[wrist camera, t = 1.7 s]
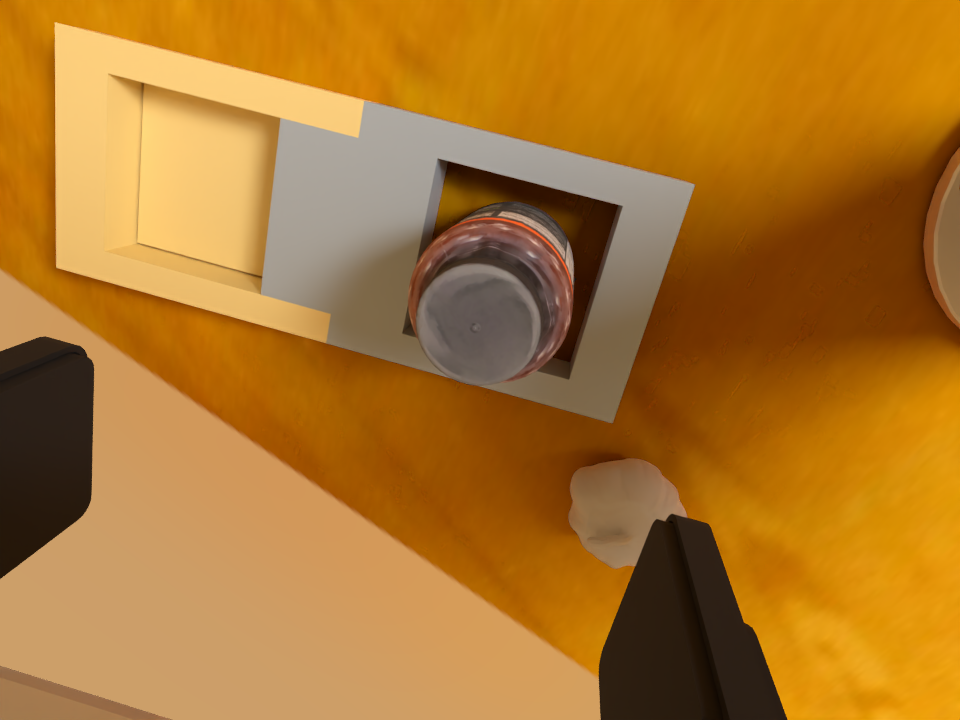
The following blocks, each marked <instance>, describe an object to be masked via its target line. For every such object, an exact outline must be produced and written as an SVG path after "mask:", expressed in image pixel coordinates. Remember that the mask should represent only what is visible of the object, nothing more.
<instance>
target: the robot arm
mask: <svg viewBox="0 0 960 720" xmlns="http://www.w3.org/2000/svg"><path fill="white" fill-rule="evenodd" d="M959 186H960V147H959V148H958V150H957V151H956V152H955V153H954V155H953V156H952V158H951V159H950V161H949V163H948V165H947V167H946V169H945V171H944V173H943V174H942V176H941V178H940V180H939V182H938V184H937V186H936V189H935V192H934V195H933V198H932V201H931V204H930V207H929V210H928V213H927V218H926V226H925V235H924V243H923V246H924V256H925V267H926V273H927V276H928V279H929V282H930V285H931V288H932V291H933V294H934V296H935V298H936V300H937V301H938V303H939V304H940V306H941V308H942V309H943V311H944V312H945V314H946V315H947V317H948V318H949V319H950V320H951V321H952V322H953V323H954V324H955V325H956V326H957V327H958V328H959V329H960V190H959ZM93 393H94V365H93V362H92V360H91V359H89V358H88V357H87V354H86V352H85V350H84V349H83V348H82V347H81V346H77V345H74V344H70V343H67V342H63V341H60V340H56V339H52V338H49V337H39V338H36V339H33V340H31V341H28V342H25V343H22V344H20V345H17V346H14V347H11V348H9V349H6V350H3V351H0V578H2V577H3V576H5V575H6V574H7V573H8V572H10V571H11V570H12V569H14V568H15V567H17V566H18V565H19V564H20V563H22V562H23V561H24V560H26V559H27V558H28V557H30V556H31V555H32V554H34V553H35V552H36V551H37V550H39V549H40V548H41V547H43V546H44V545H45V544H47V543H48V542H49V541H51V540H52V539H53V538H55V537H56V536H57V535H59V534H60V533H61V532H62V531H64V530H65V529H66V528H68V527H69V526H70V525H72V524H73V523H74V522H76V521H77V520H78V519H79V518H80V517H81V516H83V514H84V513H85V512H86V510H87V508H88V506H89V504H90V501H91V490H92V442H93V440H92V439H93V437H92V436H93ZM599 689H600V713H601V720H787V717H786V715H785V712H784V709H783V706H782V704H781V701H780V698H779V695H778V693H777V690H776V687H775V685H774V682H773V679H772V676H771V674H770V671H769V668H768V665H767V663H766V660H765V657H764V654H763V652H762V649H761V646H760V644H759V641H758V638H757V636H756V634H755V632H754V630H753V628H752V627H750V626H749V625H748V624H745V623H744V622H743V619H742V616H741V613H740V610H739V607H738V604H737V601H736V599H735V596H734V593H733V590H732V587H731V584H730V581H729V579H728V576H727V573H726V570H725V567H724V564H723V561H722V559H721V556H720V553H719V550H718V547H717V544H716V541H715V539H714V536H713V533H712V530H711V527H710V526H709V524H707V523H704V522H700V521H697V520H693V519H690V518H686V517H683V516H679V515H675V514H670V515H669V516H668V518H667V519H666V521H663V520H659V519H656V520H655V521H654V522H653V524H652V526H651V528H650V531H649V533H648V536H647V538H646V541H645V543H644V546H643V548H642V551H641V553H640V556H639V559H638V561H637V564H636V566H635V569H634V571H633V574H632V576H631V579H630V581H629V584H628V586H627V589H626V591H625V594H624V597H623V599H622V602H621V604H620V607H619V609H618V612H617V614H616V617H615V619H614V622H613V624H612V627H611V629H610V632H609V635H608V637H607V640H606V642H605V645H604V647H603V650H602V654H601V658H600V664H599ZM0 720H171V719H168V718H165V717H161V716H158V715H155V714H152V713H148V712H146V711H142V710H139V709H136V708H133V707H130V706H127V705H124V704H120V703H117V702H114V701H111V700H108V699H105V698H101V697H98V696H95V695H92V694H88V693H85V692H82V691H79V690H76V689H73V688H69V687H66V686H63V685H60V684H56V683H53V682H50V681H47V680H43V679H41V678H37V677H34V676H31V675H28V674H24V673H21V672H18V671H15V670H12V669H9V668H6V667H2V666H0Z"/></svg>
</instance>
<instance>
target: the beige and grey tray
mask: <svg viewBox="0 0 960 720" xmlns="http://www.w3.org/2000/svg"><path fill="white" fill-rule="evenodd" d="M55 146H56V268H59V269H62V270H66V271H70V272H73V273H77V274H80V275H84V276H87V277H91V278H95V279H98V280H102V281H105V282H109V283H112V284H116V285H120V286H123V287H127V288H130V289H134V290H137V291H141V292H145V293H148V294H152V295H155V296H159V297H162V298H166V299H170V300H173V301H177V302H180V303H184V304H187V305H191V306H195V307H198V308H202V309H205V310H209V311H212V312H216V313H220V314H223V315H227V316H230V317H234V318H237V319H241V320H245V321H248V322H252V323H255V324H259V325H262V326H266V327H270V328H273V329H277V330H280V331H284V332H287V333H291V334H295V335H298V336H302V337H305V338H309V339H312V340H316V341H319V342H323V343H327V344H330V345H334V346H337V347H341V348H344V349H348V350H352V351H355V352H359V353H362V354H366V355H369V356H373V357H377V358H380V359H384V360H387V361H391V362H394V363H398V364H402V365H405V366H409V367H412V368H416V369H419V370H423V371H427V372H430V373H434V374H437V375H441V376H444V377H448V376H446V375H445V374H443V373H442V372H440V371H439V370H438V369H437V368H436V367H435V366H434V365H433V364H432V363H431V362H430V360H429V359H428V358H427V357H426V355H425V353H424V352H423V350H422V348H421V346H420V343H419V340H418V339H417V337H416V334H415V332H414V330H413V327H412V324H411V320H410V316H409V309H408V290H409V285H410V280H411V277H412V274H413V271H414V269H415V266H416V264H417V262H418V260H419V259H420V257H421V256H422V254H423V253H424V251H425V250H426V249H427V247H428V246H429V245H430V244H431V242H432V237H433V232H434V227H435V222H436V218H437V213H438V208H439V203H440V198H441V193H442V189H443V184H444V179H445V174H446V169H447V165H448V161H450V162H454V163H458V164H461V165H465V166H469V167H473V168H477V169H481V170H485V171H489V172H493V173H496V174H500V175H504V176H508V177H512V178H516V179H520V180H524V181H527V182H531V183H535V184H539V185H543V186H547V187H551V188H555V189H559V190H562V191H566V192H570V193H574V194H578V195H582V196H586V197H590V198H593V199H597V200H601V201H605V202H609V203H613V204H617V205H618V208H617V211H616V214H615V218H614V221H613V224H612V227H611V231H610V234H609V237H608V240H607V244H606V247H605V250H604V253H603V257H602V260H601V263H600V267H599V270H598V273H597V276H596V280H595V283H594V286H593V289H592V293H591V296H590V299H589V302H588V306H587V309H586V312H585V315H584V319H583V322H582V325H581V328H580V332H579V335H578V338H577V341H576V345H575V348H574V351H573V354H572V358H571V361H570V362H568V361H564V360H560V359H557V358H553V357H552V358H551V359H550V360H549V361H548V362H547V363H546V364H545V365H544V366H542V367H541V368H540V369H538V370H537V371H536V372H534V373H532V374H530V375H528V376H526V377H524V378H521V379H518V380H515V381H511V382H506V383H497V384H492V385H482V386H480V387H484V388H487V389H491V390H494V391H498V392H502V393H505V394H509V395H512V396H516V397H519V398H523V399H527V400H530V401H534V402H537V403H541V404H544V405H548V406H552V407H555V408H559V409H562V410H566V411H569V412H573V413H577V414H580V415H584V416H587V417H591V418H594V419H598V420H602V421H605V422H609V423H612V424H613V421H614V418H615V415H616V412H617V409H618V406H619V403H620V401H621V398H622V395H623V392H624V389H625V386H626V383H627V380H628V377H629V375H630V372H631V369H632V366H633V363H634V360H635V357H636V354H637V351H638V349H639V346H640V343H641V340H642V337H643V334H644V331H645V328H646V325H647V322H648V320H649V317H650V314H651V311H652V308H653V305H654V302H655V299H656V296H657V294H658V291H659V288H660V285H661V282H662V279H663V276H664V273H665V270H666V268H667V265H668V262H669V259H670V256H671V253H672V250H673V247H674V244H675V242H676V239H677V236H678V233H679V230H680V227H681V224H682V221H683V218H684V215H685V213H686V210H687V207H688V204H689V201H690V198H691V195H692V192H693V189H694V187H695V184H692V183H690V182H687V181H684V180H680V179H676V178H672V177H668V176H664V175H660V174H656V173H652V172H648V171H644V170H640V169H637V168H633V167H629V166H625V165H621V164H617V163H613V162H609V161H605V160H601V159H597V158H593V157H589V156H585V155H581V154H577V153H573V152H569V151H565V150H562V149H558V148H554V147H550V146H546V145H542V144H538V143H534V142H530V141H526V140H522V139H518V138H514V137H510V136H506V135H502V134H498V133H494V132H490V131H487V130H483V129H479V128H475V127H471V126H467V125H463V124H459V123H455V122H451V121H447V120H443V119H439V118H435V117H431V116H427V115H423V114H419V113H415V112H412V111H408V110H404V109H400V108H396V107H392V106H388V105H384V104H380V103H376V102H372V101H368V100H364V99H360V98H356V97H352V96H348V95H344V94H341V93H337V92H333V91H329V90H325V89H321V88H317V87H313V86H309V85H305V84H301V83H297V82H293V81H289V80H285V79H281V78H277V77H273V76H269V75H266V74H262V73H258V72H254V71H250V70H246V69H242V68H238V67H234V66H230V65H226V64H222V63H218V62H214V61H210V60H206V59H202V58H198V57H194V56H191V55H187V54H183V53H179V52H175V51H171V50H167V49H163V48H159V47H155V46H151V45H147V44H143V43H139V42H135V41H131V40H127V39H123V38H120V37H116V36H112V35H108V34H104V33H100V32H96V31H91V30H87V29H82V28H78V27H73V26H69V25H64V24H60V23H56V22H55ZM139 243H141V244H139ZM142 244H145V245H142ZM146 245H148V246H146ZM150 246H152V247H150ZM153 247H156V248H153ZM157 248H159V249H157ZM161 249H163V250H161ZM164 250H166V251H164ZM168 251H170V252H168ZM171 252H174V253H171ZM175 253H177V254H175ZM179 254H181V255H179ZM182 255H185V256H182ZM186 256H188V257H186ZM190 257H192V258H190ZM193 258H196V259H193ZM197 259H199V260H197ZM201 260H203V261H201ZM204 261H206V262H204ZM208 262H210V263H208ZM211 263H214V264H211ZM215 264H217V265H215ZM219 265H221V266H219ZM222 266H225V267H222ZM226 267H228V268H226ZM230 268H232V269H230ZM233 269H236V270H233ZM237 270H239V271H237ZM241 271H243V272H241ZM244 272H246V273H244ZM248 273H250V274H248ZM251 274H254V275H251ZM255 275H257V276H255ZM259 276H261V277H259ZM262 277H263V278H262ZM448 378H450V377H448Z"/></svg>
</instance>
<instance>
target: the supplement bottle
mask: <svg viewBox="0 0 960 720" xmlns="http://www.w3.org/2000/svg"><path fill="white" fill-rule="evenodd" d="M575 280H576V278H575V279H574V261H573V255H572V250H571V247H570V244H569V241H568V238H567V236H566V235H565V233H564V231H563V229H562V228H561V227H560V225H559V224H558V223H557V222H556V221H555V220H554V219H553V218H552V217H551V216H549V215H548V214H547V213H546V212H544V211H543V210H541V209H539V208H537V207H535V206H532V205H529V204H525V203H521V202H501V203H494V204H491V205H488V206H485V207H482V208H481V209H479V210H477V211H475V212H473V213H472V214H470V215H469V216H467V217H466V218H464V219H463V220H461V221H460V222H458V223H457V224H455V225H454V226H452V227H450V228H449V229H448V230H446V231H445V232H444V233H442V234H441V235H440V236H439V237H437V238H436V239H435V240H434V241H433V242H432V243H431V244H430V245H429V246H428V247H427V249H426V250H425V251H424V253H423V254H422V256H421V257H420V259H419V260H418V262H417V264H416V266H415V269H414V271H413V274H412V277H411V280H410V285H409V290H408V309H409V316H410V320H411V324H412V327H413V330H414V332H415V334H416V337H417V339H418V340H419V343H420V346H421V348H422V350H423V352H424V353H425V355H426V357H427V358H428V359H429V360H430V362H431V363H432V364H433V365H434V366H435V367H436V368H437V369H438V370H439V371H440V372H442V373H443V374H445V375H446V376H448V377H450V378H452V379H454V380H456V381H458V382H462V383H465V384H469V385H476V386H482V385H492V384H497V383H506V382H511V381H515V380H518V379H521V378H524V377H526V376H528V375H530V374H532V373H534V372H536V371H537V370H538V369H540V368H541V367H542V366H544V365H545V364H546V363H547V362H548V361H549V360H550V359H551V358H552V357H553V356H554V355H555V353H556V352H557V351H558V349H559V348H560V347H561V345H562V343H563V341H564V339H565V337H566V334H567V332H568V329H569V326H570V323H571V317H572V309H573V294H574V293H573V292H574V282H575Z"/></svg>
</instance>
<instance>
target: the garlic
mask: <svg viewBox="0 0 960 720" xmlns="http://www.w3.org/2000/svg"><path fill="white" fill-rule="evenodd" d="M570 494H571V498H572V500H573V502H572V507H571V509H570V511H569V515H568V520H569V524H570V526H571V527H572V529H573V530H574V531H575V532H576V533H577V534H578V536H579V539H580V542H581V544H582V545H583V547H584V548H585V549H586V550H587V551H588V552H590V553H592V554H593V555H594V556H595V557H596V558H598V559H599V560H601V561H602V562H604V563H605V564H607V565H609V566H610V567H611V568H615V569H618V568H620V567H623V566H627V565H630V566H636V564H637V561H638V559H639V556H640V553H641V551H642V548H643V546H644V543H645V541H646V538H647V536H648V533H649V531H650V528H651V526H652V524H653V522H654V521H655V520H656V519H659V520H663V521H666V519H667V518H668V516H669V515H670V514H675V515H679V516H683V517H686V518H687V513H686V511H685V509H684V507H683V505H682V504H681V502H680V500H679V494H678V491H677V489H676V487H675V486H674V485H673V484H672V483H671V482H669V481H668V480H667V479H666V478H665V477H664V476H662V473H661V471H660V470H659V469H658V468H657V467H656V466H654V465H653V464H651V463H649V462H647V461H645V460H642V459H636V458H627V459H623V460H616V461H609V462H603V463H598V464H595V465H592V466H586V467H581V468H579V469H578V470H576V471H575V473H574V474H573V476H572V479H571V484H570Z"/></svg>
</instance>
